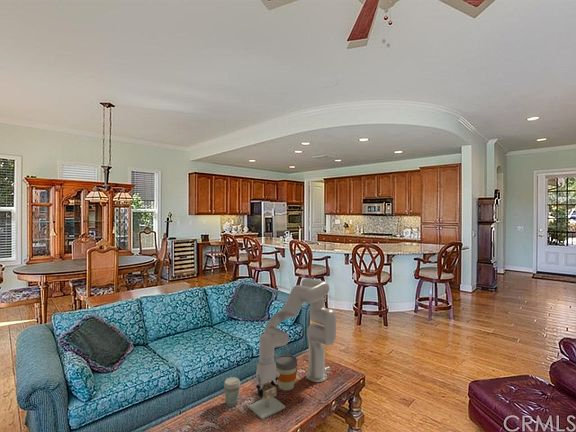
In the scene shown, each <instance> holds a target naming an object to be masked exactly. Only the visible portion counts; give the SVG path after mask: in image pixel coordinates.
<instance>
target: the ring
mask: <svg viewBox="0 0 576 432" xmlns="http://www.w3.org/2000/svg"><path fill="white" fill-rule="evenodd" d="M262 390H263V397H262V398H261V399H264V400H265V401H266V400H268V399H270V398H272V397H274V398H275V397H277V387H276V385H275V386H273V385H272V384H271V382H268V383H265V384H263V387H262ZM256 395H257V396H259V395H258V388H257V387H256Z"/></svg>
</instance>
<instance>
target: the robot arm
mask: <svg viewBox="0 0 576 432" xmlns="http://www.w3.org/2000/svg"><path fill="white" fill-rule="evenodd" d="M329 291H330V286H329V283H328V282H326V281H325V280H319V279H314V278H310V277H309V278H308V277H305V278H304V279H302V281H301V285H299V284H296V285H294V286H293V287H292V289H291V291H290V292H289V295H288V297H287V299H286V301H285V302H284V303H285V304H284V306H283V307H282V308H281V309H280V310H279V311H277V312H276V313H275V314H273V315H272V316H271V317H270V318H269V320H268V321H267V324H266V325H265V328H264V330H263V333H261V334H260V335H259V356H258V358H259V361H257V365H256V370H255V371H256V372H255V376H256V377H255V379H254V380H253V382H252V385H253V386H254V387H256V389H257V388H258V395H257V396H259V397H260V398H261V399H262V397H263V390H262V387H263V384H265V383H268V382H269V383H271V384H272V385H273V386H275V387H276V385H277V382H278V377H279V375H280V373H279V372H277V370H276V359H275V357H277V355H276V353H275V350H276V348H281V347H285V346H286V345H287V344H288V343H289V340H290V336H289V334H288V333H287V332H286V331H285V330H281V329H278V328H277V327H279V325H280V323H282V322H283V321H285V320H288V319H292V318H296V317H298V314H299V312H300V310H301V307H302V306H303V303H305V304H309V317H310V320H311V321H312V323H310V324H309V326H308V327H307V328H306V329H307V330H306V335H307V339H308V340H307V342H308V371H307V372H306V373H305V377H306V379H307V380H308V381H311V382H314V383H321V382H325V381H326V380H327V379H328V374H327V372H328V371H330V370H331V367H330V366H325V364H326V363H325V357H326V356H325V354H326V351H325V349H326V348H325V346H333V345H334V343H335V341H336V337H337V315H336V313H335V311H334V310H333V309H330V308H327V307H326V305H325V297H326V296H327V295H328V293H329Z"/></svg>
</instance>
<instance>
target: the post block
mask: <svg viewBox="0 0 576 432" xmlns="http://www.w3.org/2000/svg"><path fill="white" fill-rule="evenodd" d="M248 408H249V409H250V410H251V411H252V412H253V413H254V414H256V415H257V417H258V418H260V419H261V420H265V419H266V418H268V417H270V416H273V415H274V414H276V413H278V412H280V411H282V410H284V409H286V406H285V405H284V404H283V403H282V402H281V401H280V400H278V399H277V398H275V396H274V397H272V398H270V399H268V400H266V401H265V400H264V399H262V398H261V399H260V400H257V401H255V402H253V403H251V404H249V405H248Z"/></svg>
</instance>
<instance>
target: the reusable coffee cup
mask: <svg viewBox="0 0 576 432" xmlns="http://www.w3.org/2000/svg"><path fill="white" fill-rule="evenodd" d="M275 362H276V370H277V372H279V373H280V375H279V377H278V380H277V385H278V389H280V390H281V391H291V390H293V389H294V388H295V384H296V379H297V372H298V369H297V367H298V359H297V357H296V356H294V355H290V354H281V355H279V356H278V357H277V356H276V359H275Z"/></svg>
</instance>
